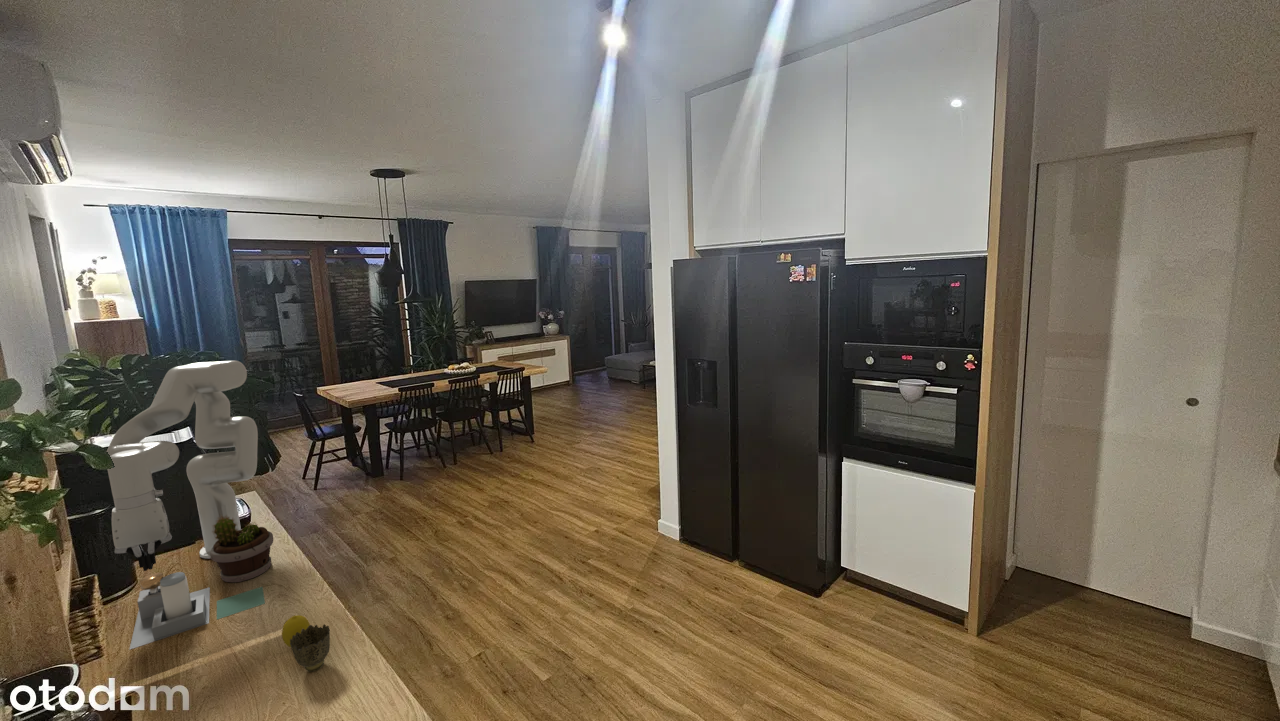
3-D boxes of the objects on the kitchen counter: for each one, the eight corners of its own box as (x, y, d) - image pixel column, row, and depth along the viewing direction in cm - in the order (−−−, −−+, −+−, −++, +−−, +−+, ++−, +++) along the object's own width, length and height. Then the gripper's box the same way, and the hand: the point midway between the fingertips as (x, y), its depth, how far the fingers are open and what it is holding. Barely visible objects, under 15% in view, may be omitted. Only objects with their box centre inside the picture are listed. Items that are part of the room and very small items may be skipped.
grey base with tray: (139, 612, 140) (135, 591, 139) (210, 590, 149) (206, 570, 148) (130, 653, 124) (125, 630, 123) (209, 626, 133) (205, 604, 132)
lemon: (283, 658, 121) (278, 626, 119) (286, 644, 126) (281, 613, 124) (311, 650, 123) (307, 618, 122) (313, 636, 128) (309, 605, 127)
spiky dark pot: (341, 655, 121) (337, 624, 120) (319, 680, 114) (314, 647, 113) (310, 654, 122) (306, 622, 121) (286, 679, 115) (281, 645, 113)
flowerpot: (283, 557, 165) (274, 495, 162) (269, 583, 151) (258, 517, 148) (227, 567, 160) (216, 504, 157) (206, 595, 146) (194, 527, 143)
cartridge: (168, 620, 134) (159, 576, 132) (194, 612, 137) (186, 569, 135) (167, 630, 130) (158, 585, 128) (193, 622, 133) (185, 577, 131)
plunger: (145, 600, 139) (140, 577, 138) (168, 593, 142) (163, 570, 140) (143, 608, 135) (139, 584, 134) (166, 601, 138) (162, 578, 137)
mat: (217, 604, 142) (216, 600, 142) (263, 589, 148) (262, 586, 148) (217, 623, 134) (216, 619, 134) (265, 606, 140) (265, 603, 140)
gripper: (175, 487, 141) (187, 552, 144) (96, 503, 132) (110, 572, 135) (173, 496, 135) (186, 563, 138) (90, 513, 126) (105, 585, 129)
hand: (148, 567), depth 137 cm, fingers closed
